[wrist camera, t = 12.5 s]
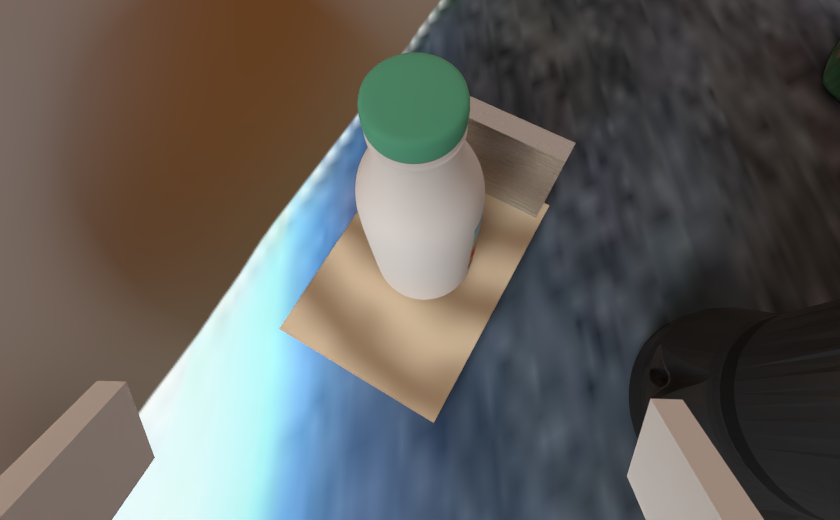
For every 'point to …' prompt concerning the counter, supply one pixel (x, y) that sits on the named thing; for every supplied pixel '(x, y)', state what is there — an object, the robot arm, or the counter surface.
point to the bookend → (515, 156)
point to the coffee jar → (833, 73)
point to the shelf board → (408, 311)
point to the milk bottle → (419, 174)
